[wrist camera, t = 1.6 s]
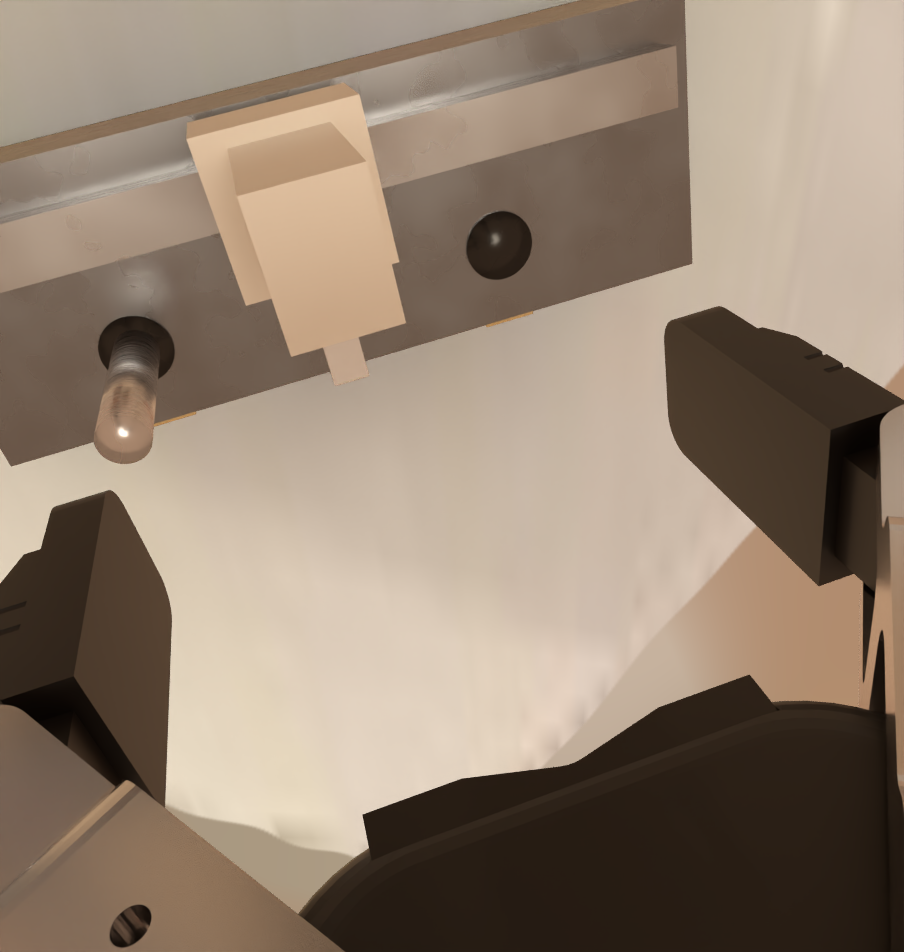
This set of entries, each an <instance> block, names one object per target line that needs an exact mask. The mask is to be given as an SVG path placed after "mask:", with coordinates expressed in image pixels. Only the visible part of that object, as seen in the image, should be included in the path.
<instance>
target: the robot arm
mask: <svg viewBox="0 0 904 952" xmlns="http://www.w3.org/2000/svg"><path fill="white" fill-rule="evenodd" d="M664 345H665V364H666V383H667V401H668V417H669V423H670V427H671V431H672V434H673V436H674V439H675V441H676V443H677V445H678V447H679V448H680V450H681V451H682V453H683V454H684V455H685V456H686V457H687V458H688V459H689V460H690V461H691V462H692V463H693V464H694V465H695V466H696V467H697V468H698V469H699V470H700V471H701V472H702V473H703V474H704V475H705V476H707V477H708V478H709V479H710V480H711V481H712V482H713V483H714V484H715V485H716V486H717V487H718V488H719V489H720V490H721V491H722V492H723V493H724V494H725V495H726V496H727V497H728V498H729V499H730V500H731V501H732V502H733V503H734V504H735V505H736V506H737V507H738V508H739V509H740V510H741V511H742V512H743V513H744V514H745V515H746V516H747V517H748V518H749V519H750V520H751V521H753V522H754V523H755V524H756V525H757V526H758V527H759V528H760V529H761V530H762V531H763V532H764V533H765V534H766V535H767V536H768V537H769V538H770V539H771V540H772V541H773V542H774V543H775V544H776V545H777V546H778V547H779V548H780V549H781V550H782V551H783V552H784V553H785V554H786V555H787V556H788V557H789V558H790V559H792V561H793V562H794V563H795V564H796V565H797V566H799V567H800V568H801V569H802V570H803V571H804V572H805V573H806V574H807V575H808V576H809V577H810V578H811V579H812V580H813V581H814V582H815V583H816V584H817V585H818V586H821V585H823V584H826V583H829V582H832V581H835V580H838V579H841V578H843V577H846V576H849V575H852V574H855V575H856V576H857V577H858V578H860V579H861V580H862V587H861V596H860V624H859V628H860V630H859V707H853V706H847V705H842V704H836V703H826V702H814V701H813V702H812V701H779V702H771V701H770V700H769V699H768V697H767V696H766V695H765V694H764V692H763V691H762V690H761V688H760V687H759V686H758V685H757V683H756V682H755V681H754V680H753V678H752V677H751V676H750V675H747V676H744V677H742V678H739V679H736V680H733V681H730V682H728V683H725V684H722V685H719V686H717V687H714V688H711V689H708V690H706V691H703V692H700V693H698V694H694V695H692V696H689V697H686V698H683V699H681V700H678V701H676V702H673V703H670V704H667V705H664V706H661V707H659V708H657V709H656V710H654V711H653V712H651V713H650V714H648V715H647V716H645V717H644V718H642V719H641V720H639V721H638V722H636V723H635V724H633V725H632V726H630V727H629V728H627V729H626V730H624V731H623V732H621V733H620V734H618V735H617V736H615V737H614V738H612V739H611V740H609V741H608V742H606V743H605V744H603V745H602V746H600V747H599V748H597V749H596V750H594V751H593V752H591V753H590V754H588V755H587V756H585V757H584V758H582V759H581V760H579V761H577V762H575V763H572V764H569V765H566V766H561V767H553V768H545V769H537V770H528V771H520V772H512V773H504V774H496V775H488V776H480V777H472V778H464V779H460V780H457V781H454V782H451V783H449V784H446V785H443V786H440V787H438V788H435V789H432V790H429V791H427V792H424V793H421V794H418V795H416V796H413V797H410V798H407V799H404V800H402V801H399V802H396V803H393V804H391V805H388V806H385V807H382V808H380V809H377V810H374V811H371V812H369V813H366V814H363V820H364V825H365V830H366V835H367V840H368V845H369V849H367V850H366V851H364V852H363V853H361V854H360V855H358V856H357V857H355V858H354V859H352V860H351V861H350V862H349V863H347V864H346V865H345V866H344V867H343V868H341V869H340V870H339V871H338V872H337V873H335V874H334V875H333V876H332V877H331V878H330V879H329V880H328V881H327V882H326V883H325V884H324V885H323V886H322V887H321V888H320V889H319V890H318V891H317V892H316V893H315V894H314V895H313V896H312V898H311V899H310V900H309V901H308V903H307V904H306V905H305V906H304V907H303V909H302V910H301V911H300V912H299V914H297V913H296V912H294V911H293V910H292V909H291V908H290V907H288V906H287V905H286V904H285V903H283V902H282V901H281V900H280V899H278V898H277V897H276V896H274V895H273V894H272V893H271V892H270V891H268V890H267V889H266V888H265V887H263V886H262V885H261V884H259V883H258V882H257V881H256V880H254V879H253V878H252V877H251V876H249V875H248V874H247V873H246V872H244V871H243V870H241V868H239V867H238V866H237V865H236V864H234V863H233V862H232V861H231V860H229V859H228V858H227V857H226V856H224V855H223V854H222V853H221V852H219V851H218V850H217V849H216V848H214V847H213V846H212V845H211V844H209V843H208V842H207V841H206V840H204V839H203V838H202V837H200V836H199V835H198V834H197V833H196V832H194V831H193V830H192V829H190V828H189V827H188V826H187V825H185V824H184V823H183V822H182V821H180V820H179V819H178V818H177V817H175V816H174V815H173V814H172V813H170V812H169V811H168V810H167V809H165V791H166V764H167V737H168V710H169V683H170V656H171V629H172V615H171V607H170V602H169V598H168V595H167V591H166V588H165V586H164V583H163V580H162V578H161V576H160V574H159V572H158V570H157V568H156V566H155V564H154V562H153V561H152V559H151V557H150V555H149V553H148V551H147V549H146V547H145V545H144V543H143V541H142V539H141V538H140V536H139V534H138V532H137V530H136V528H135V526H134V524H133V522H132V520H131V518H130V516H129V515H128V513H127V511H126V509H125V507H124V505H123V503H122V502H121V500H120V499H119V497H118V496H117V495H116V494H115V493H114V492H113V491H111V490H108V491H105V492H101V493H98V494H95V495H92V496H88V497H85V498H82V499H78V500H75V501H72V502H69V503H65V504H62V505H59V506H56V507H54V508H53V509H52V511H51V513H50V517H49V521H48V524H47V528H46V532H45V535H44V539H43V543H42V546H41V549H40V550H37V551H34V552H30V553H27V554H24V555H23V556H22V558H21V559H20V560H19V561H18V563H17V564H16V565H15V566H14V568H13V569H12V570H11V571H10V572H9V574H8V575H7V576H6V577H5V579H4V580H3V581H2V582H1V583H0V952H904V400H902V399H901V398H899V397H897V396H895V395H894V394H892V393H891V392H889V391H887V390H886V389H884V388H882V387H881V386H879V385H877V384H876V383H874V382H872V381H871V380H869V379H867V378H866V377H864V376H862V375H861V374H859V373H857V372H856V371H854V370H852V369H851V368H849V367H845V368H844V367H843V365H842V363H841V362H839V361H837V360H836V359H834V358H832V357H831V356H829V355H827V354H826V355H823V354H822V351H821V350H819V349H817V348H816V347H814V346H812V345H811V344H809V343H807V342H806V341H804V340H802V339H800V338H799V337H797V336H794V335H790V334H786V333H782V332H778V331H774V330H770V329H767V328H763V327H762V328H759V329H758V328H756V327H754V326H753V325H751V324H750V323H748V322H746V321H745V320H743V319H742V318H740V317H738V316H737V315H735V314H734V313H732V312H730V311H729V310H727V309H726V308H724V307H720V306H718V307H714V308H711V309H707V310H704V311H701V312H697V313H694V314H691V315H688V316H684V317H681V318H678V319H674V320H671V321H670V322H669V323H668V324H667V326H666V329H665V335H664Z"/></svg>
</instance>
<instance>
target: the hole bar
mask: <svg viewBox="0 0 904 952" xmlns="http://www.w3.org/2000/svg"><path fill="white" fill-rule="evenodd" d="M340 83H345V84H346V85H348V86H349V87H350V88H352V89H353V90H354V91H356V92H357V93H358V94H360V99H361V103H362V107H363V111H364V115H365V120H366V124H367V128H368V132H369V136H370V141H371V145H372V149H373V153H374V158H375V162H376V166H377V170H378V174H379V179H380V183H381V187H382V191H383V195H384V200H385V204H386V208H387V212H388V216H389V221H390V225H391V229H392V233H393V237H394V242H395V246H396V250H397V254H398V258H399V262H398V263H395V264H392V267H393V271H394V275H395V280H396V284H397V288H398V292H399V296H400V300H401V304H402V308H403V312H404V316H405V321H406V323H405V324H401V325H398V326H395V327H391V328H388V329H384V330H381V331H378V332H374V333H371V334H367V335H364V336H361V337H359V341H360V345H361V348H362V352H363V355H364V359H365V361H367V360H370V359H374V358H377V357H380V356H384V355H387V354H390V353H394V352H397V351H400V350H404V349H407V348H410V347H414V346H417V345H421V344H424V343H427V342H431V341H434V340H437V339H441V338H444V337H447V336H451V335H454V334H457V333H461V332H464V331H468V330H471V329H474V328H478V327H481V326H484V325H485V326H486V327H490V326H493V325H496V324H500V323H503V322H506V321H510V320H513V319H516V318H520V317H523V316H526V315H530V314H533V311H535V310H538V309H541V308H545V307H548V306H551V305H555V304H558V303H562V302H565V301H568V300H572V299H575V298H578V297H582V296H585V295H588V294H592V293H595V292H598V291H602V290H605V289H609V288H612V287H615V286H619V285H622V284H625V283H629V282H632V281H635V280H639V279H642V278H645V277H649V276H652V275H656V274H659V273H662V272H666V271H669V270H672V269H676V268H679V267H682V266H686V265H689V264H692V239H691V204H690V170H689V136H688V101H687V67H686V33H685V0H579V1H575V2H571V3H567V4H563V5H560V6H556V7H552V8H548V9H544V10H540V11H536V12H532V13H528V14H524V15H520V16H516V17H512V18H508V19H504V20H500V21H497V22H493V23H489V24H485V25H481V26H477V27H473V28H469V29H465V30H461V31H457V32H453V33H449V34H445V35H441V36H437V37H434V38H430V39H426V40H422V41H418V42H414V43H410V44H406V45H402V46H398V47H394V48H390V49H386V50H382V51H378V52H374V53H370V54H367V55H363V56H359V57H355V58H351V59H347V60H343V61H339V62H335V63H331V64H327V65H323V66H319V67H315V68H311V69H307V70H304V71H300V72H296V73H292V74H288V75H284V76H280V77H276V78H272V79H268V80H264V81H260V82H256V83H252V84H248V85H244V86H241V87H237V88H233V89H229V90H225V91H221V92H217V93H213V94H209V95H205V96H201V97H197V98H193V99H189V100H185V101H181V102H178V103H174V104H170V105H166V106H162V107H158V108H154V109H150V110H146V111H142V112H138V113H134V114H130V115H126V116H122V117H118V118H115V119H111V120H107V121H103V122H99V123H95V124H91V125H87V126H83V127H79V128H75V129H71V130H67V131H63V132H59V133H55V134H52V135H48V136H44V137H40V138H36V139H32V140H28V141H24V142H20V143H16V144H12V145H8V146H4V147H0V449H1V450H2V452H3V454H4V455H5V457H6V459H7V460H8V462H9V464H10V465H11V466H14V465H18V464H21V463H24V462H28V461H31V460H35V459H38V458H41V457H45V456H48V455H51V454H55V453H58V452H61V451H65V450H68V449H71V448H75V447H78V446H82V445H85V444H88V443H92V442H94V444H95V447H96V449H97V450H98V452H99V453H100V454H101V455H102V456H103V457H105V458H106V459H108V460H110V461H112V462H115V463H120V464H129V463H134V462H137V461H139V460H141V459H143V458H144V457H145V456H146V455H147V454H148V453H149V451H150V449H151V447H152V440H153V429H154V426H158V425H161V424H164V423H168V422H171V421H174V420H178V419H181V418H185V417H188V416H191V415H195V414H196V411H199V410H202V409H206V408H209V407H212V406H216V405H219V404H223V403H226V402H229V401H233V400H236V399H239V398H243V397H246V396H249V395H253V394H256V393H259V392H263V391H266V390H270V389H273V388H276V387H280V386H283V385H286V384H290V383H293V382H296V381H300V380H303V379H306V378H310V377H313V376H317V375H320V374H323V373H327V372H330V369H329V366H328V362H327V359H326V356H325V353H324V350H323V348H320V349H316V350H313V351H310V352H306V353H303V354H299V355H296V356H293V357H291V355H290V352H289V349H288V346H287V343H286V340H285V337H284V334H283V331H282V328H281V325H280V322H279V319H278V316H277V314H276V311H275V308H274V305H273V302H272V299H268V300H265V301H261V302H258V303H254V304H251V305H247V306H246V305H245V302H244V299H243V296H242V293H241V291H240V288H239V285H238V282H237V279H236V277H235V274H234V271H233V268H232V265H231V263H230V260H229V257H228V254H227V251H226V249H225V246H224V243H223V240H222V238H221V235H220V232H219V229H218V226H217V224H216V221H215V218H214V215H213V212H212V210H211V207H210V204H209V201H208V198H207V196H206V193H205V190H204V187H203V184H202V182H201V179H200V176H199V173H198V171H197V168H196V165H195V162H194V159H193V157H192V154H191V151H190V148H189V145H188V143H187V140H186V134H187V123H188V122H192V121H196V120H200V119H204V118H207V117H211V116H215V115H219V114H223V113H227V112H231V111H235V110H239V109H242V108H246V107H250V106H254V105H258V104H262V103H266V102H270V101H274V100H277V99H281V98H285V97H289V96H293V95H297V94H301V93H305V92H309V91H312V90H316V89H320V88H324V87H328V86H332V85H336V84H340Z"/></svg>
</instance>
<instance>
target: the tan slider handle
mask: <svg viewBox="0 0 904 952" xmlns="http://www.w3.org/2000/svg"><path fill="white" fill-rule="evenodd" d="M186 140H187V143H188V145H189V148H190V151H191V154H192V157H193V159H194V162H195V165H196V168H197V171H198V173H199V176H200V179H201V182H202V184H203V187H204V190H205V193H206V196H207V198H208V201H209V204H210V207H211V210H212V212H213V215H214V218H215V221H216V224H217V226H218V229H219V232H220V235H221V238H222V240H223V243H224V246H225V249H226V251H227V254H228V257H229V260H230V263H231V265H232V268H233V271H234V274H235V277H236V279H237V282H238V285H239V288H240V291H241V293H242V296H243V299H244V302H245V305H246V306H247V305H251V304H254V303H258V302H261V301H265V300H268V299H272V302H273V305H274V308H275V311H276V314H277V316H278V319H279V322H280V325H281V328H282V331H283V334H284V337H285V340H286V343H287V346H288V349H289V352H290V355H291V357H293V356H296V355H299V354H303V353H306V352H310V351H313V350H316V349H320V348H323V350H324V353H325V356H326V359H327V362H328V366H329V369H330V372H331V375H332V378H333V381H334V384H335V386H337V385H341V384H344V383H347V382H350V381H354V380H357V379H360V378H364V377H367V376H369V373H368V369H367V366H366V362H365V359H364V355H363V352H362V348H361V345H360V341H359V337H361V336H364V335H367V334H371V333H374V332H378V331H381V330H384V329H388V328H391V327H395V326H398V325H401V324H405V323H406V321H405V316H404V312H403V308H402V304H401V300H400V296H399V292H398V288H397V284H396V280H395V275H394V271H393V267H392V264H395V263H398V262H399V258H398V254H397V250H396V246H395V242H394V237H393V233H392V229H391V225H390V221H389V216H388V212H387V208H386V204H385V200H384V195H383V191H382V187H381V183H380V179H379V174H378V170H377V166H376V162H375V158H374V153H373V149H372V145H371V141H370V136H369V132H368V128H367V124H366V120H365V115H364V111H363V107H362V103H361V99H360V94H358V93H357V92H356V91H354V90H353V89H352V88H350V87H349V86H348V85H346V84H345V83H340V84H336V85H332V86H328V87H324V88H320V89H316V90H312V91H309V92H305V93H301V94H297V95H293V96H289V97H285V98H281V99H277V100H274V101H270V102H266V103H262V104H258V105H254V106H250V107H246V108H242V109H239V110H235V111H231V112H227V113H223V114H219V115H215V116H211V117H207V118H204V119H200V120H196V121H192V122H188V123H187V134H186Z"/></svg>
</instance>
